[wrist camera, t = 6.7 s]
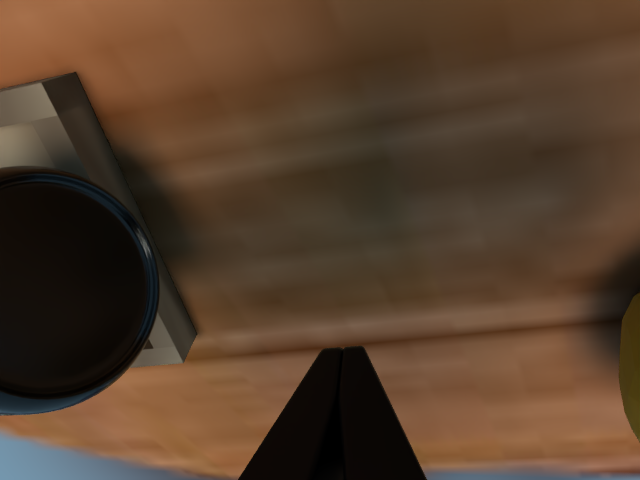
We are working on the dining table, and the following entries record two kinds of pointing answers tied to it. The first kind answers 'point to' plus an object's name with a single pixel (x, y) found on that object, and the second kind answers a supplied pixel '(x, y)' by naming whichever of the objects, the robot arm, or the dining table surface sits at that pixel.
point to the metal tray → (95, 165)
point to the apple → (631, 364)
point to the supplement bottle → (68, 289)
